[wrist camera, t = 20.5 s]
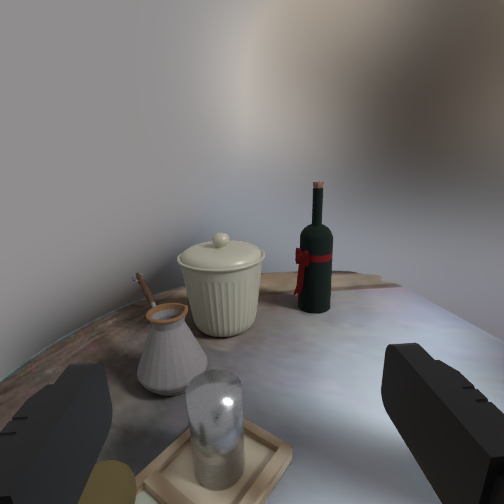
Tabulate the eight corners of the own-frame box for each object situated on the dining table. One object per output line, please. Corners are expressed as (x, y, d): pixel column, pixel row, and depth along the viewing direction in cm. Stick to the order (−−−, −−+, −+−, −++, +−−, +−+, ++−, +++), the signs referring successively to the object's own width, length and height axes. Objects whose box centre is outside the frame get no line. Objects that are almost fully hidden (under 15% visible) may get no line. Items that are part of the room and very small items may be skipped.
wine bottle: (284, 307, 78) (284, 183, 69) (313, 296, 83) (317, 180, 75) (307, 319, 72) (311, 185, 63) (337, 306, 77) (344, 181, 68)
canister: (282, 331, 67) (282, 235, 61) (203, 359, 59) (194, 251, 52) (241, 300, 82) (238, 220, 76) (173, 319, 74) (163, 230, 67)
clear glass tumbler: (217, 434, 41) (212, 363, 38) (254, 459, 38) (252, 382, 35) (183, 471, 37) (173, 393, 33) (222, 502, 33) (215, 419, 30)
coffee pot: (221, 384, 52) (215, 302, 48) (152, 417, 46) (138, 326, 42) (172, 330, 69) (165, 265, 65) (117, 348, 63) (105, 278, 58)
